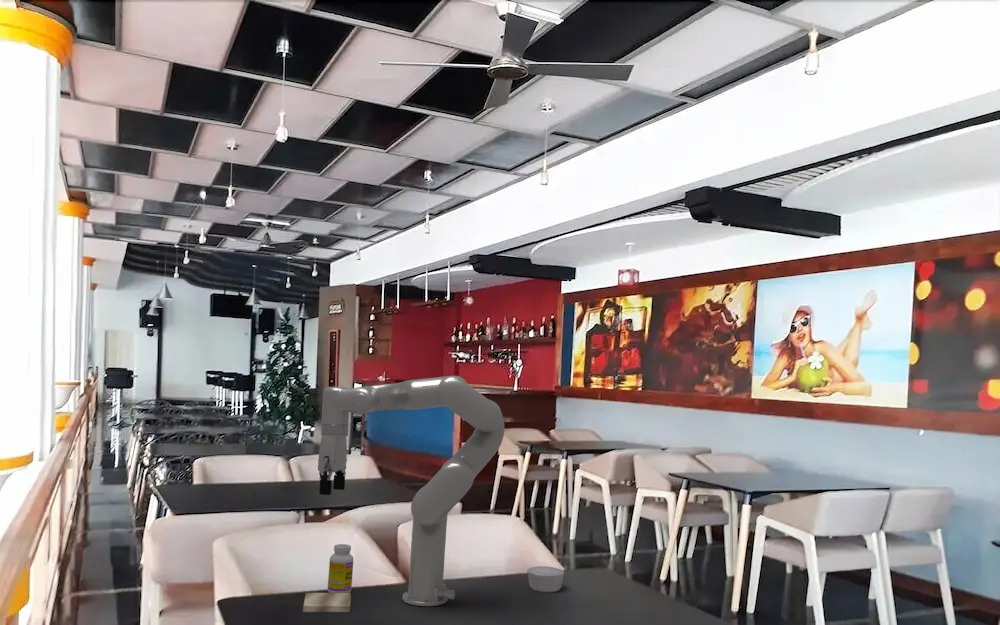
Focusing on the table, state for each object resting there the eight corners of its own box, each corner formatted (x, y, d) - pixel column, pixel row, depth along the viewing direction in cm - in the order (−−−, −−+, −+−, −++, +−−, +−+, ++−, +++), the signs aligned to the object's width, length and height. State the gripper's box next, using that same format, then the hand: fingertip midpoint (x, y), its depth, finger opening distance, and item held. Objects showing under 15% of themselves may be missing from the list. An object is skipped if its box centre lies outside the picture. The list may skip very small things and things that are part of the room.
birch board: (350, 598, 219) (350, 593, 219) (350, 612, 208) (350, 606, 208) (305, 598, 217) (306, 592, 217) (302, 612, 205) (303, 606, 206)
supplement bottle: (345, 596, 221) (349, 549, 222) (323, 593, 222) (326, 547, 223) (354, 590, 228) (357, 544, 228) (333, 587, 229) (336, 542, 230)
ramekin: (524, 591, 237) (525, 573, 237) (528, 581, 248) (529, 564, 248) (561, 595, 235) (562, 577, 235) (564, 585, 246) (565, 568, 246)
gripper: (334, 428, 234) (331, 487, 233) (309, 432, 217) (306, 495, 216) (358, 429, 232) (356, 488, 231) (335, 433, 216) (332, 497, 214)
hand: (332, 492), depth 223 cm, fingers open, 9 cm apart
